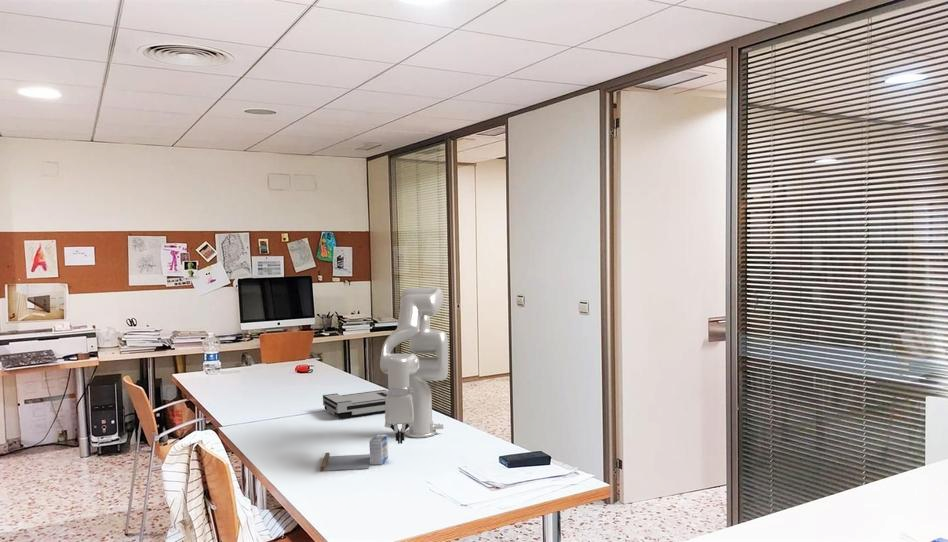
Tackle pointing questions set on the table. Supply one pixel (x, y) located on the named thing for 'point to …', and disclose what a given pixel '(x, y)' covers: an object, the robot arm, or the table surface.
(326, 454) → the walnut stop strip
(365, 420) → the table surface
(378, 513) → the table surface
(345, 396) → the game console
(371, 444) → the medicine box
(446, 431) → the table surface
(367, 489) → the table surface
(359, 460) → the slate mat
